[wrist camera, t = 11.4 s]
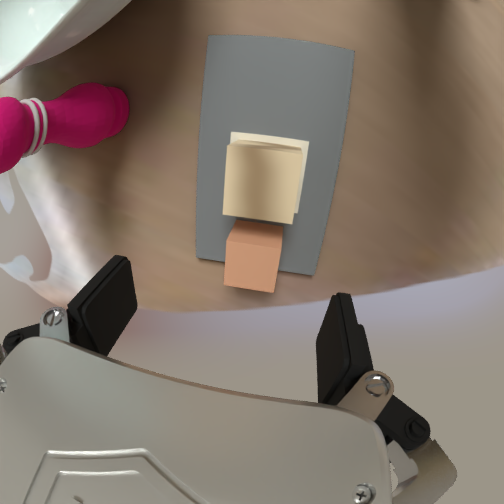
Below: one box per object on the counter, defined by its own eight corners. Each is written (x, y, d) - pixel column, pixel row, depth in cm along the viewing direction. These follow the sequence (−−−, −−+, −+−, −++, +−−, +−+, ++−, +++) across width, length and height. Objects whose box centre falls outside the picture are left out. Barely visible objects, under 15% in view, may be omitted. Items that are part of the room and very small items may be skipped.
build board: (352, 52, 20) (355, 50, 19) (313, 270, 32) (314, 276, 31) (211, 37, 21) (208, 34, 20) (198, 253, 33) (195, 257, 32)
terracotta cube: (283, 226, 29) (281, 248, 25) (276, 266, 31) (273, 292, 27) (236, 219, 29) (226, 240, 25) (233, 259, 32) (223, 284, 27)
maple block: (300, 147, 24) (303, 155, 20) (292, 204, 27) (292, 224, 23) (238, 139, 25) (227, 145, 21) (233, 196, 28) (222, 214, 23)
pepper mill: (139, 130, 26) (-15, 184, 9) (93, 148, 28) (-42, 210, 11) (127, 73, 23) (-29, 78, 6) (82, 96, 24) (-57, 127, 7)
